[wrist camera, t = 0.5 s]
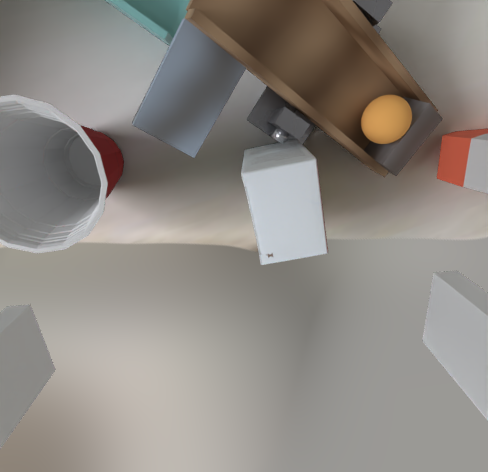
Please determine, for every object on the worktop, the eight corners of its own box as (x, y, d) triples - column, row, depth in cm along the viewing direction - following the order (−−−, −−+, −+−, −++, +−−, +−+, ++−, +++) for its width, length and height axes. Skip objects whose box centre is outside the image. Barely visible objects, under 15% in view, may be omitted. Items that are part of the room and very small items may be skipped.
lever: (131, 120, 23) (135, 135, 20) (239, -102, 19) (266, -127, 16) (321, 223, 35) (342, 242, 32) (412, 103, 31) (447, 112, 28)
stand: (246, 119, 31) (248, 121, 25) (327, -13, 28) (355, -54, 21) (295, 153, 33) (309, 163, 26) (378, 30, 29) (421, 5, 22)
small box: (308, 210, 35) (329, 256, 25) (258, 220, 35) (261, 268, 26) (298, 136, 31) (319, 156, 22) (243, 148, 32) (240, 173, 22)
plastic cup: (165, 132, 32) (125, 143, 21) (130, 224, 35) (79, 275, 24) (57, 80, 30) (-51, 59, 19) (31, 181, 33) (-73, 216, 22)
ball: (344, 124, 29) (367, 131, 25) (373, 83, 28) (401, 85, 24) (373, 147, 30) (398, 157, 27) (401, 109, 29) (432, 114, 26)
